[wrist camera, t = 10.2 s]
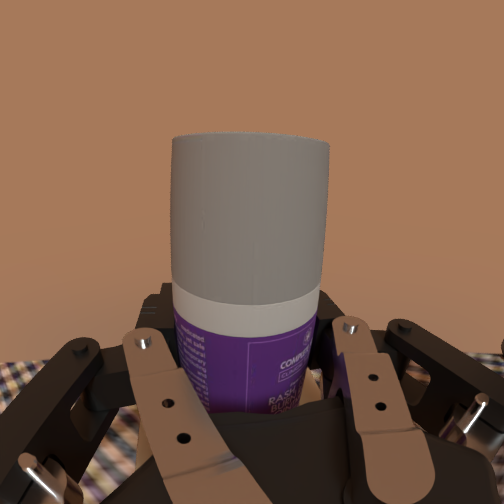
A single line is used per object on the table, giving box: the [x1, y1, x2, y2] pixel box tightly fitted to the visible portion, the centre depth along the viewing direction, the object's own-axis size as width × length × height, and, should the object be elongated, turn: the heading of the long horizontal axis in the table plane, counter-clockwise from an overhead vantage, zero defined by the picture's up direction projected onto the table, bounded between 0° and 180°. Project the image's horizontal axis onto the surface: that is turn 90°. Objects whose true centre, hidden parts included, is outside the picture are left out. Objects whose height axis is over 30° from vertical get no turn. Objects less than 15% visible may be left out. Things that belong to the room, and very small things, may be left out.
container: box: [170, 132, 330, 414], centre depth 10 cm, size 5×5×15 cm
